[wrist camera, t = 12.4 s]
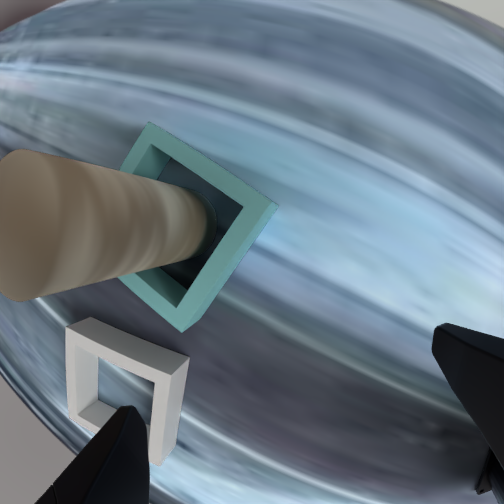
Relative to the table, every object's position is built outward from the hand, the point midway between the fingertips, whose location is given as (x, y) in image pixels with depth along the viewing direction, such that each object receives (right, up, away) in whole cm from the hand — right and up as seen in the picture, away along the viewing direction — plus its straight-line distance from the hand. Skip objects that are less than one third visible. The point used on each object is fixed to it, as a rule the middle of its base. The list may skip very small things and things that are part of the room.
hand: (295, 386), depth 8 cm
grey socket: (-10, -7, +14) cm, 18 cm away
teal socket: (-5, +5, +12) cm, 14 cm away
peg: (-5, +5, +12) cm, 14 cm away
